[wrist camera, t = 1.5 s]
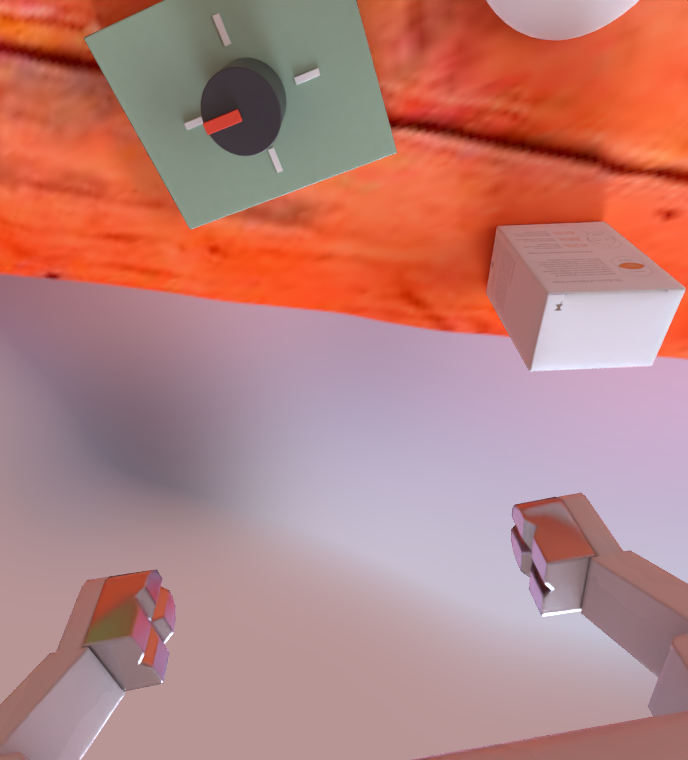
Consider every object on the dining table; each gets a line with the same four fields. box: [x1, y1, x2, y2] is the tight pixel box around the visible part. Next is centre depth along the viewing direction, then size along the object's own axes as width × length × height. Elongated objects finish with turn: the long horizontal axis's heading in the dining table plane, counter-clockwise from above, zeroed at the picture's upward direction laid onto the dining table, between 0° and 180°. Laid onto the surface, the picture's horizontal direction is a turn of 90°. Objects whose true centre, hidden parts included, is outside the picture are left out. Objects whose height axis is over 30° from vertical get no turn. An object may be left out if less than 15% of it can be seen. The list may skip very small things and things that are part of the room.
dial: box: [201, 58, 287, 156], centre depth 27 cm, size 4×4×4 cm
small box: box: [486, 221, 685, 372], centre depth 34 cm, size 8×6×10 cm
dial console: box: [84, 0, 397, 229], centre depth 30 cm, size 14×11×3 cm
